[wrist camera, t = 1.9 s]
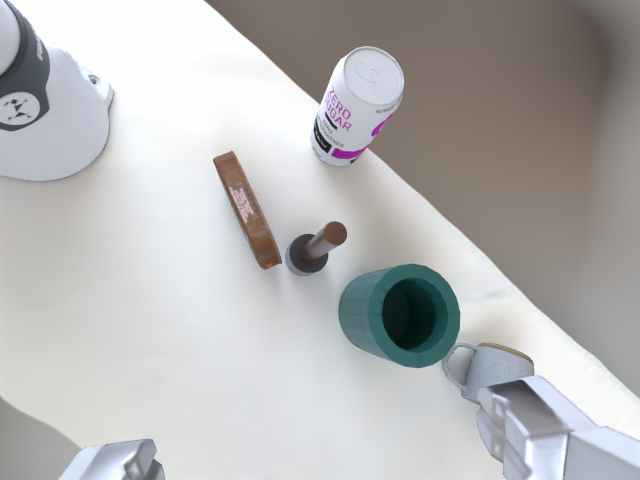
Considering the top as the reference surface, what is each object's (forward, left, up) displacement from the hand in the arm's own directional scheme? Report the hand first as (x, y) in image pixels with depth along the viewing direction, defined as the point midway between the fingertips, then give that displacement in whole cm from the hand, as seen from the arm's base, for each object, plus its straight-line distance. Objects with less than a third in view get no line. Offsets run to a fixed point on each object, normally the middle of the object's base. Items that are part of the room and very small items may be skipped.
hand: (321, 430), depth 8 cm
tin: (-11, +9, -34) cm, 37 cm away
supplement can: (-11, +27, -34) cm, 45 cm away
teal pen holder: (+10, +13, -34) cm, 38 cm away
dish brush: (-2, +11, -34) cm, 36 cm away
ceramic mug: (+27, +17, -34) cm, 46 cm away
